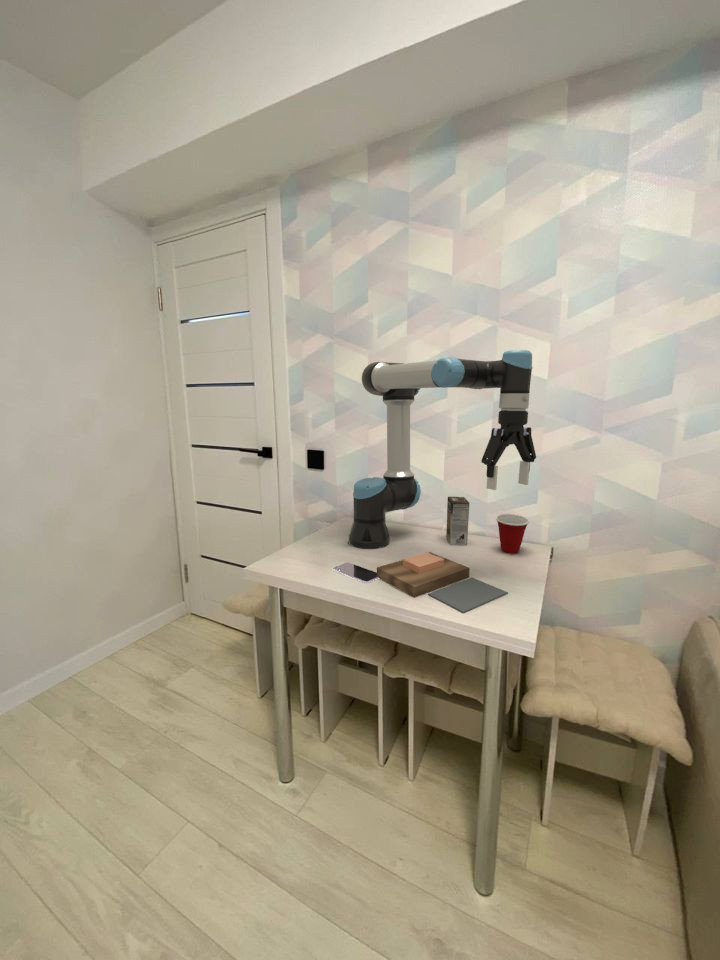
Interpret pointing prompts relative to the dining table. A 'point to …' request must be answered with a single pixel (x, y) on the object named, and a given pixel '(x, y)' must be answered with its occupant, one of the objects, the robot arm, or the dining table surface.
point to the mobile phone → (357, 572)
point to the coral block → (423, 562)
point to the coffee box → (457, 520)
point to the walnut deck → (422, 576)
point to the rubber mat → (467, 594)
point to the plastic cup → (511, 531)
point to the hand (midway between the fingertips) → (507, 486)
